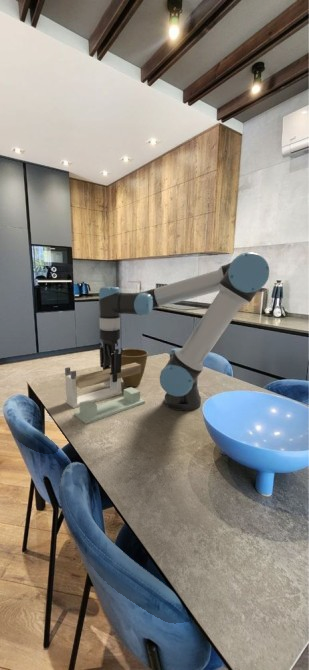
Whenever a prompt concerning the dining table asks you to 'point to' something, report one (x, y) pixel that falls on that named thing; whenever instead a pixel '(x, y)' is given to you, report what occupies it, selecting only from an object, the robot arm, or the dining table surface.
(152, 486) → the dining table surface
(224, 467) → the dining table surface
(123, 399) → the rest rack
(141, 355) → the plant pot
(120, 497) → the dining table surface
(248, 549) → the dining table surface
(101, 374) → the rail
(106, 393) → the stand
